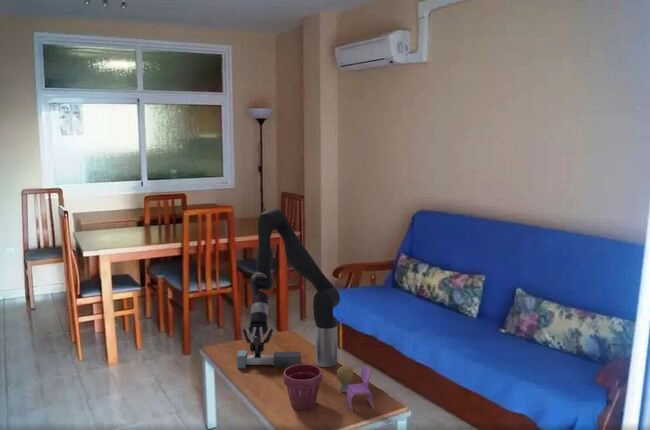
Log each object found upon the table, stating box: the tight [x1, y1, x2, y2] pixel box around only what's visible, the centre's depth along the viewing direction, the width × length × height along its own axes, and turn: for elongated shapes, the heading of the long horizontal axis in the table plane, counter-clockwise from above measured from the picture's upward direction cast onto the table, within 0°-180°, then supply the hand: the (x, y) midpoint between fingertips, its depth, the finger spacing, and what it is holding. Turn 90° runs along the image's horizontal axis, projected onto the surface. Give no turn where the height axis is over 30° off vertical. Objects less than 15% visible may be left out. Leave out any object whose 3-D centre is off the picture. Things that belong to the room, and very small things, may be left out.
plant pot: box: [283, 363, 323, 411], centre depth 204 cm, size 14×14×13 cm
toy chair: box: [346, 365, 375, 412], centre depth 202 cm, size 8×9×15 cm
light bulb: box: [336, 365, 354, 393], centre depth 214 cm, size 6×6×10 cm
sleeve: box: [273, 351, 302, 369], centre depth 238 cm, size 12×5×5 cm, turn 90°
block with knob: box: [246, 335, 274, 366], centre depth 237 cm, size 18×3×12 cm, turn 90°
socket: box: [236, 349, 248, 369], centre depth 238 cm, size 4×6×6 cm, turn 0°
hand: (256, 351), depth 235 cm, fingers closed on block with knob, 3 cm apart
